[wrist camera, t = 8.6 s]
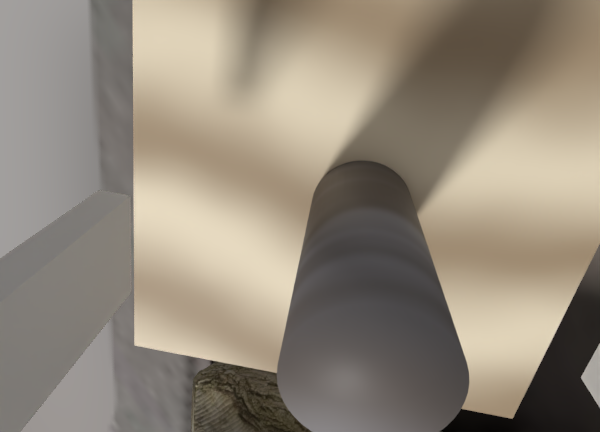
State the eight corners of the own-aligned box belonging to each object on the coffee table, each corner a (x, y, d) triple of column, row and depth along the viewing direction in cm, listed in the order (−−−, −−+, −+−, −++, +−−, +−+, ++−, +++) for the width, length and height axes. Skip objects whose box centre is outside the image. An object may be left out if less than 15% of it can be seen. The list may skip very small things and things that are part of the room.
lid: (174, -86, 15) (-193, -296, 5) (652, -8, 15) (1346, -61, 4) (163, 301, 22) (-1, 551, 12) (490, 363, 21) (618, 682, 11)
